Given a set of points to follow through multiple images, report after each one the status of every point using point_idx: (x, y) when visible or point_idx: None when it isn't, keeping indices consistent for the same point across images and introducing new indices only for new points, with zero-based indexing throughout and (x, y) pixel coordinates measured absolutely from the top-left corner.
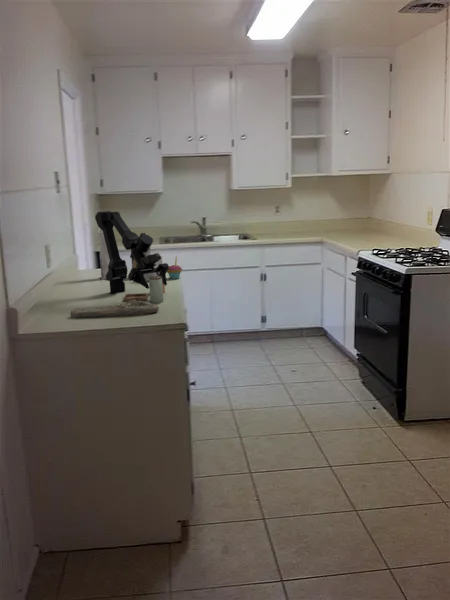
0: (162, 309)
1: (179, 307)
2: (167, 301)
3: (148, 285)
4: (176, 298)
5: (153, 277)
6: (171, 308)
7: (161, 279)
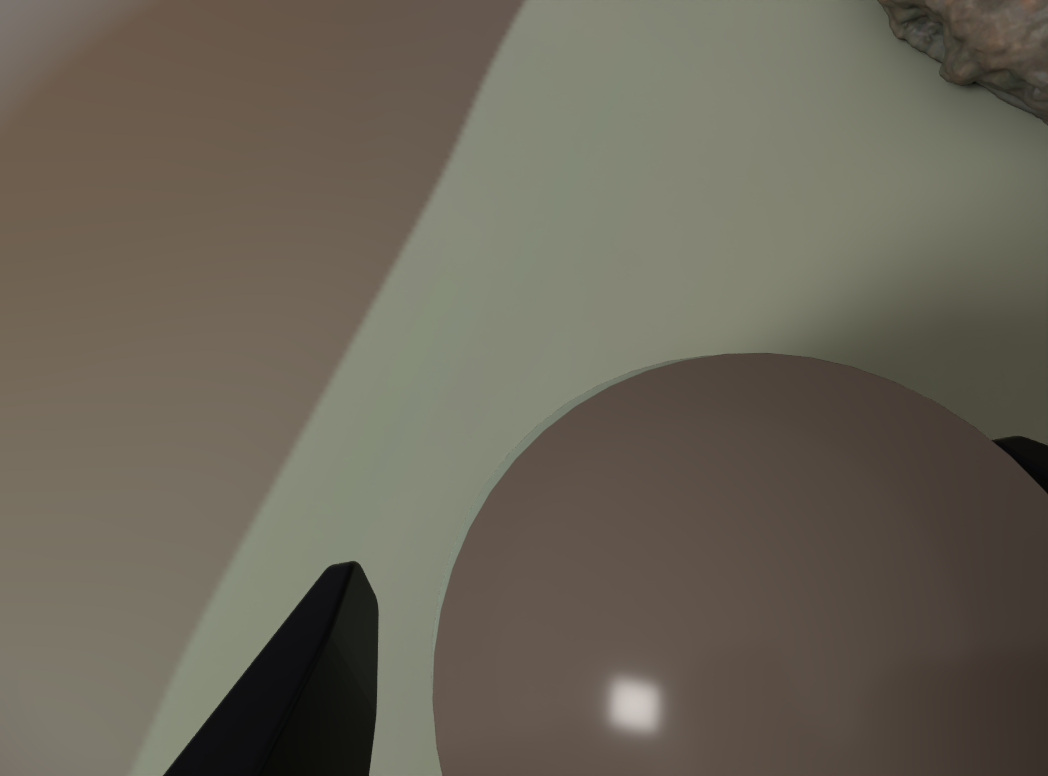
0: (757, 56)
1: (513, 38)
2: (471, 500)
3: (1041, 469)
4: (245, 623)
5: (927, 575)
6: (627, 43)
7: (526, 444)
